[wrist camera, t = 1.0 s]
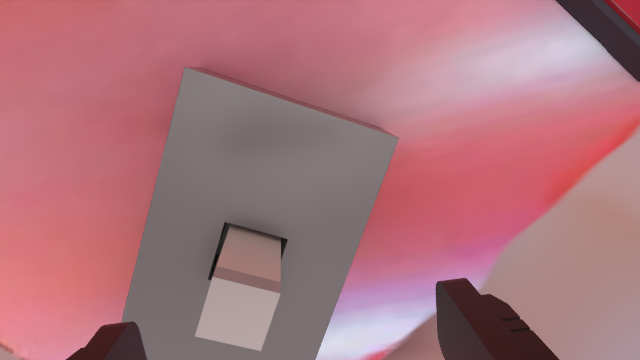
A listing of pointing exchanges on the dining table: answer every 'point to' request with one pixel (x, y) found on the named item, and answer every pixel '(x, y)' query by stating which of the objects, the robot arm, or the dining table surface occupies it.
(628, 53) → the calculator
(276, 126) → the header
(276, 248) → the pale square peg
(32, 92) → the dining table surface
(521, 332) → the robot arm
